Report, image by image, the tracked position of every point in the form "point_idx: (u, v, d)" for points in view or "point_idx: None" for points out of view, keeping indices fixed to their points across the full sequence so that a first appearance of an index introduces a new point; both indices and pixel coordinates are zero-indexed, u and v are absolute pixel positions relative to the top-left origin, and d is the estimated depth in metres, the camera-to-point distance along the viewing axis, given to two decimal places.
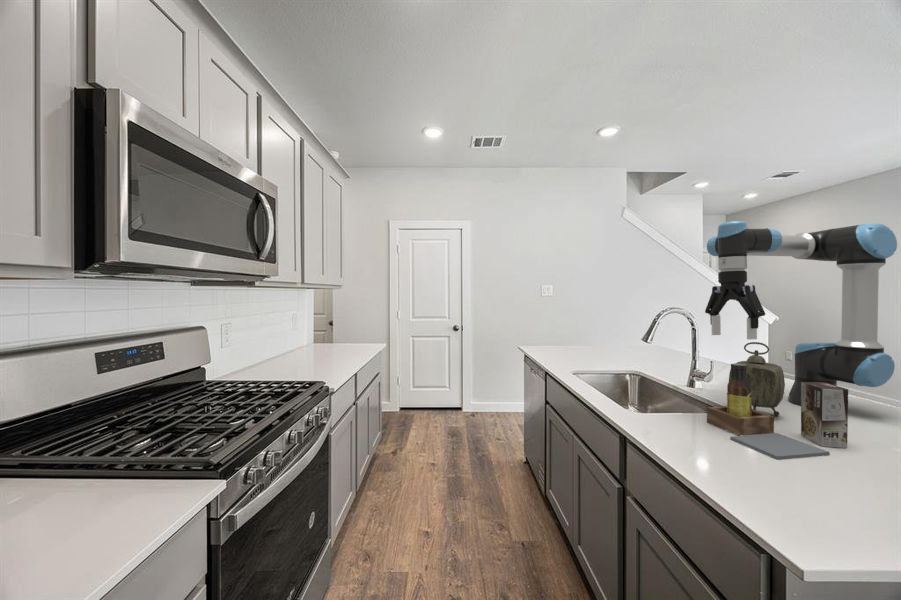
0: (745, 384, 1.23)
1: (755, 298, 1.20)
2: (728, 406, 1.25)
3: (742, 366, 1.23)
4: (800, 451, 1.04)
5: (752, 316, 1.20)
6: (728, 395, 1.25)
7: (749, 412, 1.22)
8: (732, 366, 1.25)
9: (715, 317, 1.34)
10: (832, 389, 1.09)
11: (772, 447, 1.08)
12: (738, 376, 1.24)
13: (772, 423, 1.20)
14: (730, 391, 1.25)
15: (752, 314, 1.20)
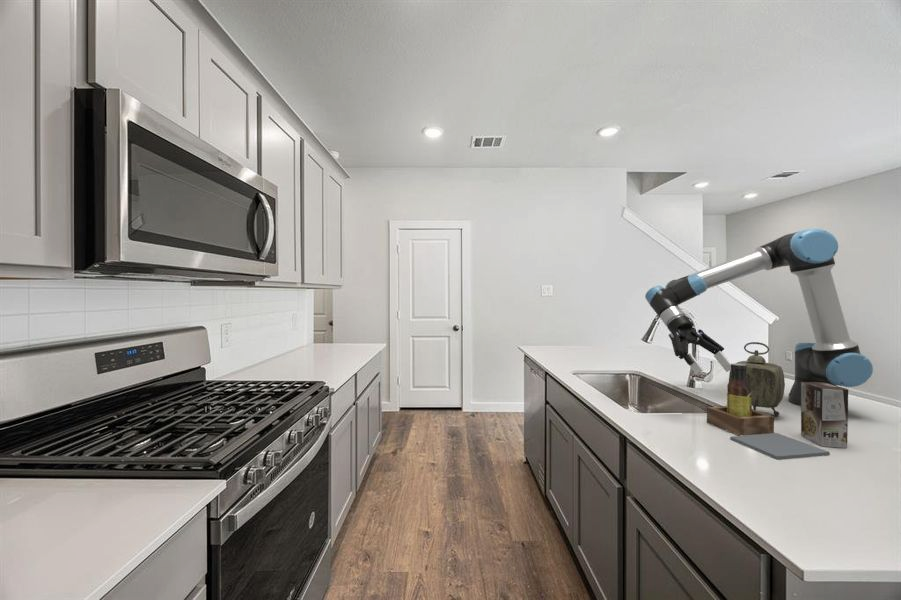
0: (745, 384, 1.23)
1: (674, 341, 1.36)
2: (728, 406, 1.25)
3: (742, 366, 1.23)
4: (800, 451, 1.04)
5: (681, 356, 1.34)
6: (728, 395, 1.25)
7: (749, 412, 1.22)
8: (732, 366, 1.25)
9: (716, 355, 1.38)
10: (832, 389, 1.09)
11: (772, 447, 1.08)
12: (738, 376, 1.24)
13: (772, 423, 1.20)
14: (730, 391, 1.25)
15: None
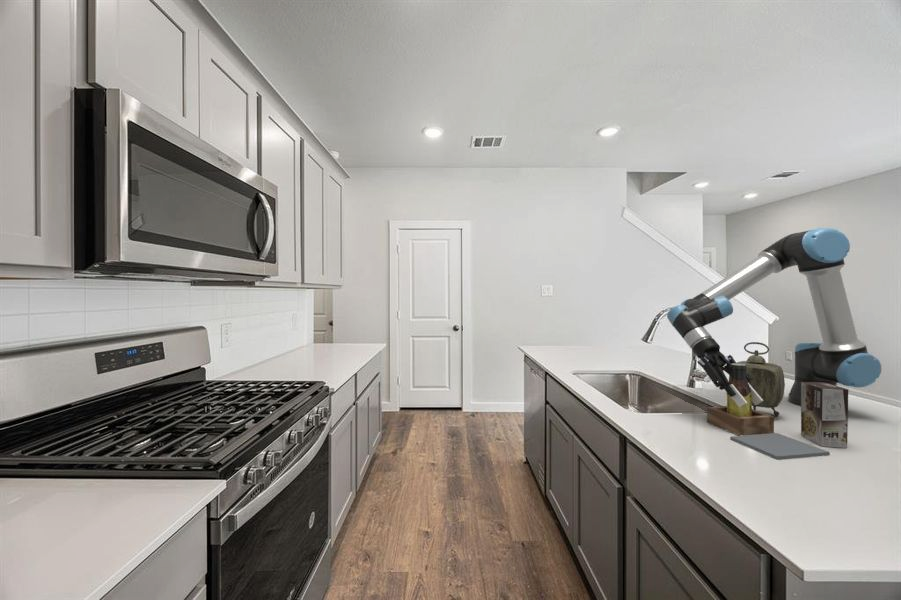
0: (745, 384, 1.23)
1: (709, 370, 1.27)
2: (728, 406, 1.25)
3: (742, 366, 1.23)
4: (800, 451, 1.04)
5: (722, 388, 1.25)
6: (728, 395, 1.25)
7: (749, 412, 1.22)
8: (732, 366, 1.25)
9: None
10: (832, 389, 1.09)
11: (772, 447, 1.08)
12: (738, 376, 1.23)
13: (772, 423, 1.20)
14: None
15: None
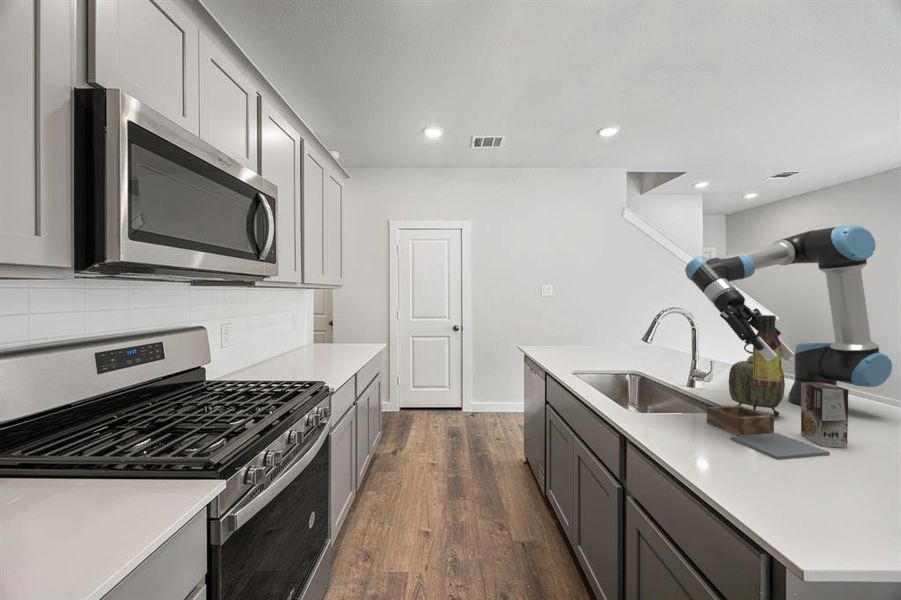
0: (774, 337, 1.10)
1: (733, 322, 1.15)
2: (754, 362, 1.13)
3: (770, 316, 1.10)
4: (800, 451, 1.04)
5: (747, 341, 1.12)
6: (754, 350, 1.12)
7: (778, 367, 1.09)
8: (759, 317, 1.12)
9: None
10: (832, 389, 1.09)
11: (772, 447, 1.08)
12: (766, 328, 1.11)
13: (772, 423, 1.20)
14: None
15: None
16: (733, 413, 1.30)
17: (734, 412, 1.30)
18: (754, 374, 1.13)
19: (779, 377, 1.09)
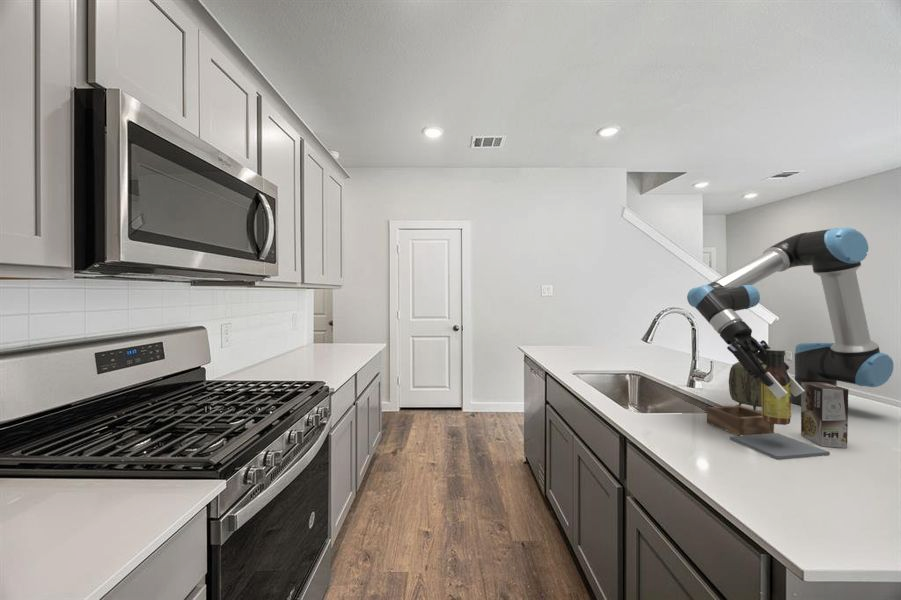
0: (784, 372, 1.07)
1: (741, 356, 1.12)
2: (763, 397, 1.10)
3: (780, 351, 1.07)
4: (800, 451, 1.04)
5: (756, 376, 1.09)
6: (763, 385, 1.10)
7: (788, 404, 1.06)
8: (768, 352, 1.09)
9: None
10: (832, 389, 1.09)
11: (772, 447, 1.08)
12: (775, 363, 1.08)
13: (772, 423, 1.20)
14: None
15: None
16: (733, 413, 1.30)
17: (734, 412, 1.30)
18: (763, 410, 1.10)
19: (789, 414, 1.06)
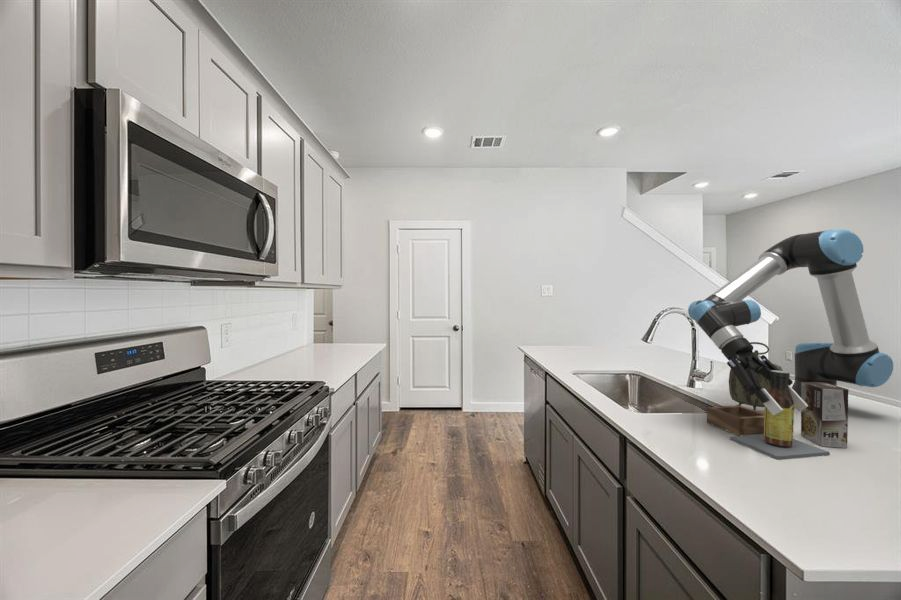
0: (787, 395, 1.07)
1: (739, 372, 1.12)
2: (766, 419, 1.10)
3: (785, 374, 1.08)
4: (800, 451, 1.04)
5: (751, 392, 1.10)
6: None
7: (791, 426, 1.07)
8: (772, 373, 1.09)
9: None
10: (832, 389, 1.09)
11: (772, 447, 1.08)
12: (779, 385, 1.08)
13: None
14: None
15: None
16: (733, 413, 1.30)
17: (734, 412, 1.30)
18: (765, 431, 1.10)
19: (791, 436, 1.07)
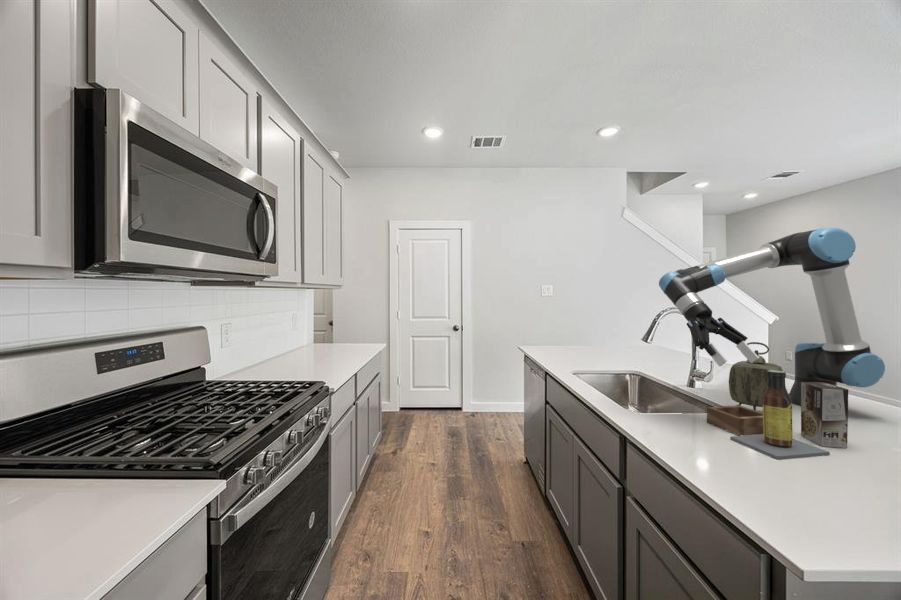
0: (785, 394, 1.08)
1: (694, 330, 1.24)
2: (765, 419, 1.10)
3: (781, 373, 1.08)
4: (800, 451, 1.04)
5: (701, 347, 1.22)
6: (764, 406, 1.10)
7: (790, 426, 1.07)
8: (769, 373, 1.10)
9: (739, 346, 1.25)
10: (832, 389, 1.09)
11: (772, 447, 1.08)
12: (776, 385, 1.09)
13: None
14: (767, 402, 1.09)
15: None
16: (733, 413, 1.30)
17: (734, 412, 1.30)
18: (765, 431, 1.10)
19: (791, 436, 1.07)
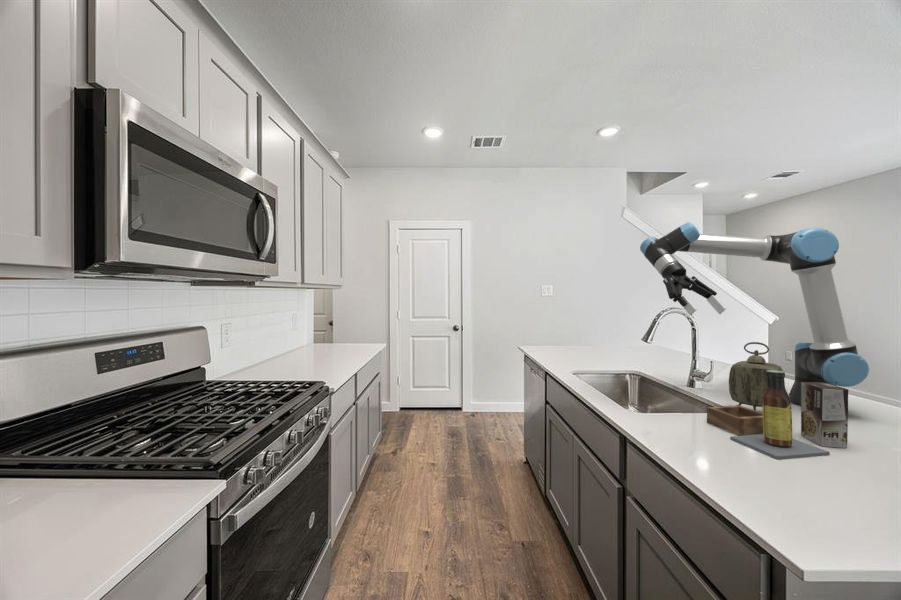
0: (784, 394, 1.08)
1: (668, 285, 1.40)
2: (764, 419, 1.10)
3: (780, 373, 1.08)
4: (800, 451, 1.04)
5: (674, 299, 1.37)
6: (764, 406, 1.10)
7: (790, 426, 1.07)
8: (768, 373, 1.10)
9: (709, 299, 1.41)
10: (832, 389, 1.09)
11: (772, 447, 1.08)
12: (776, 385, 1.09)
13: None
14: (766, 402, 1.09)
15: (674, 298, 1.37)
16: (733, 413, 1.30)
17: (734, 412, 1.30)
18: (765, 431, 1.10)
19: (791, 436, 1.07)
